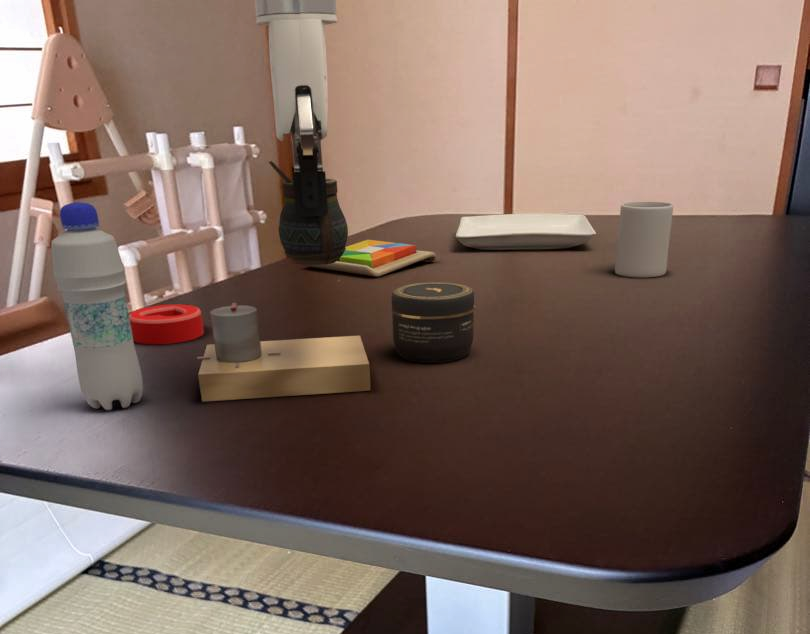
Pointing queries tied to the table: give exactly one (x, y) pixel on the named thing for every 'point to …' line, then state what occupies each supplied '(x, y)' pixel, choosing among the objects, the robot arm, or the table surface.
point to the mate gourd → (312, 228)
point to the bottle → (96, 308)
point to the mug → (643, 239)
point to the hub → (236, 333)
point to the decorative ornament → (166, 324)
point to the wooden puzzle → (377, 258)
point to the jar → (433, 321)
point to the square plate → (524, 231)
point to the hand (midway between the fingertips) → (310, 209)
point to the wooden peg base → (288, 370)
